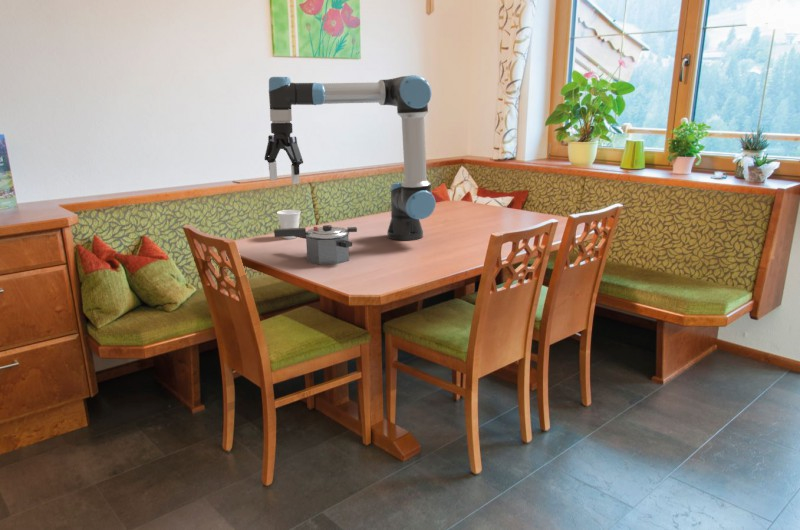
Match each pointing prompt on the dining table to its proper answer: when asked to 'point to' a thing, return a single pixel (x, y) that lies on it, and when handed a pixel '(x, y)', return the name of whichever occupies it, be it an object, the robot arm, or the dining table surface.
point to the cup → (289, 220)
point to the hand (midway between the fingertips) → (284, 182)
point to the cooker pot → (327, 250)
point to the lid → (316, 232)
